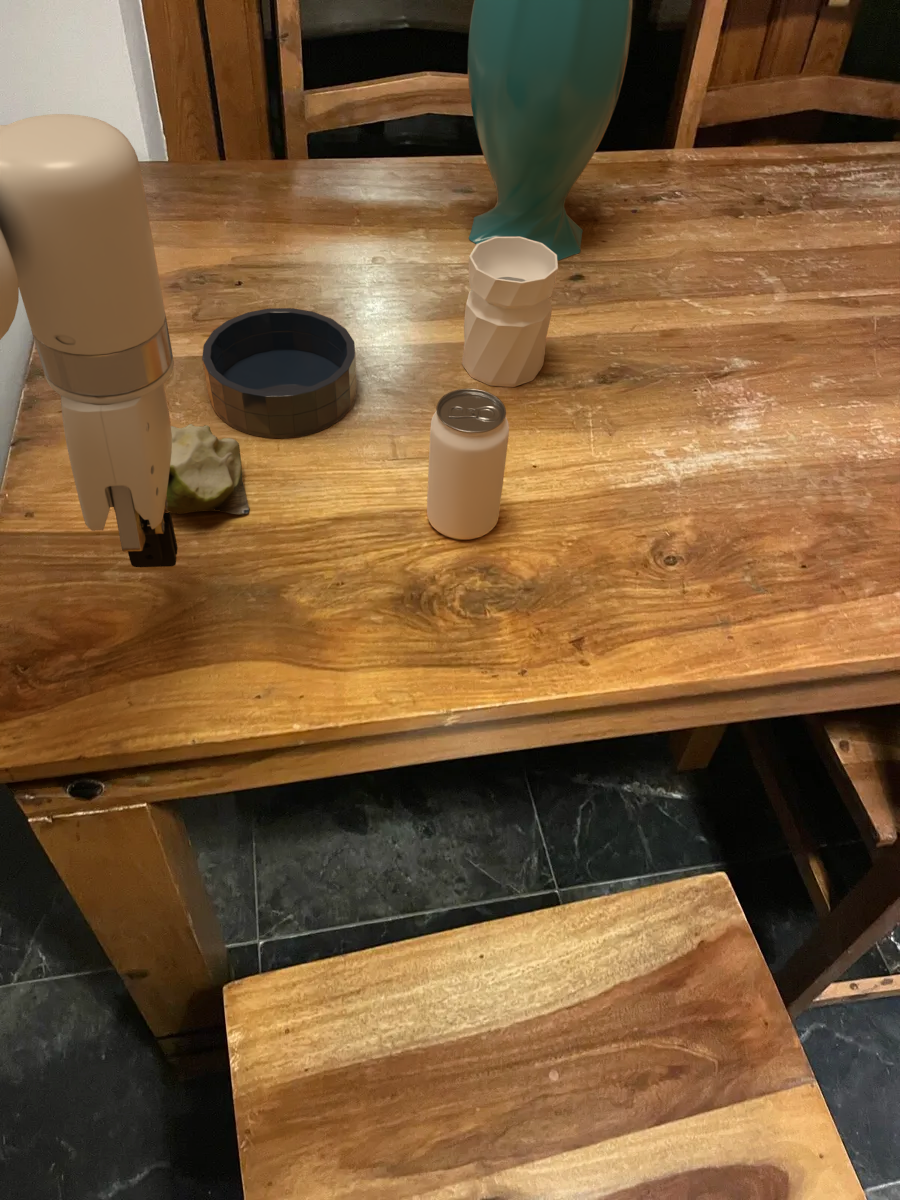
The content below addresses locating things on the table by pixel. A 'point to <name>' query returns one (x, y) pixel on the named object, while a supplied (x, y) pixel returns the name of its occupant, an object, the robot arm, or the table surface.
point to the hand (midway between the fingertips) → (155, 558)
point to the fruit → (205, 473)
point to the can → (466, 463)
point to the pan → (280, 372)
